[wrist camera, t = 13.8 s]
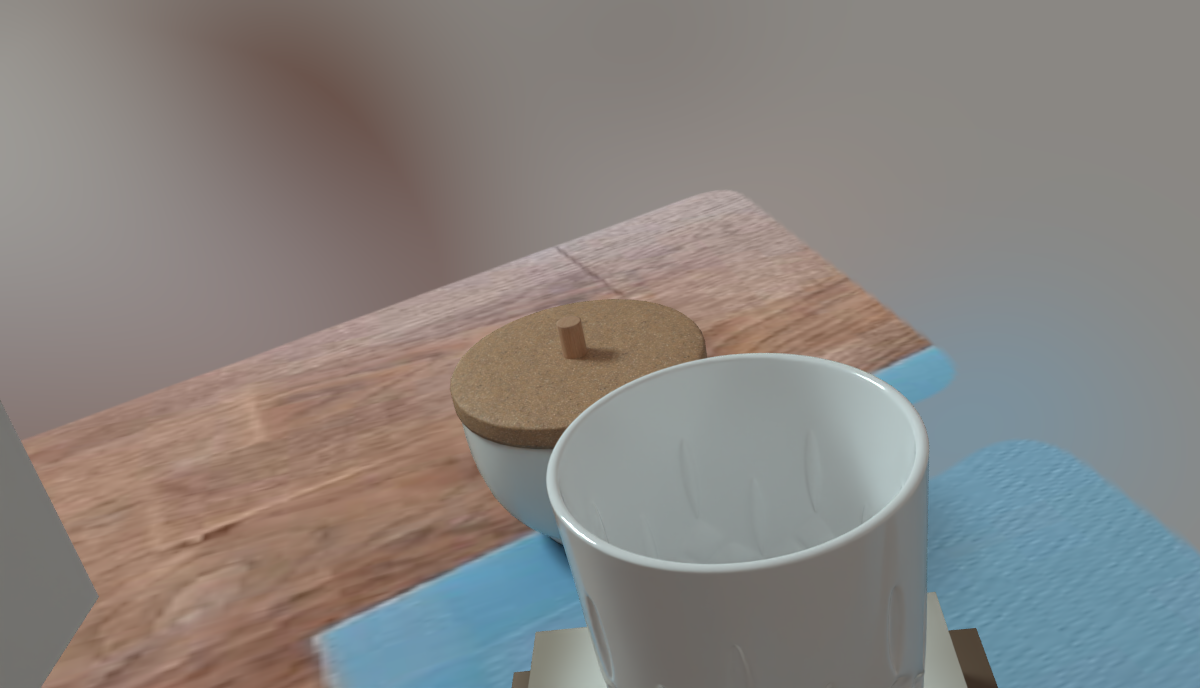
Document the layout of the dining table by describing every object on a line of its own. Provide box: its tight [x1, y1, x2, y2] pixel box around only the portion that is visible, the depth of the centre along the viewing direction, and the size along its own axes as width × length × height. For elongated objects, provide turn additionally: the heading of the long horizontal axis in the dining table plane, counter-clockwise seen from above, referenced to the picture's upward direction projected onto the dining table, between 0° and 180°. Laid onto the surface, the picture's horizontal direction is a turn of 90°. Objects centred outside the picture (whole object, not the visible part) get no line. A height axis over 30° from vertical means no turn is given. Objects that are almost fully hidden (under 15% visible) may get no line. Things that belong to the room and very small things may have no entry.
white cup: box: [546, 353, 929, 688], centre depth 25 cm, size 8×8×10 cm
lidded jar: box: [450, 299, 707, 545], centre depth 47 cm, size 11×11×9 cm
